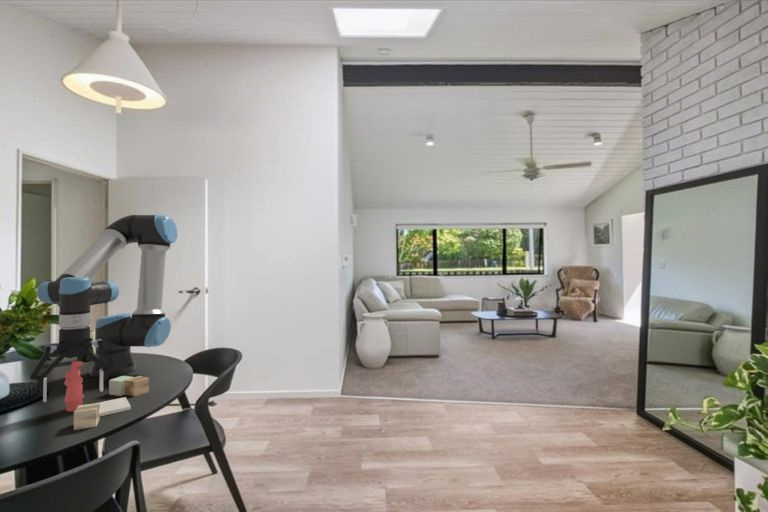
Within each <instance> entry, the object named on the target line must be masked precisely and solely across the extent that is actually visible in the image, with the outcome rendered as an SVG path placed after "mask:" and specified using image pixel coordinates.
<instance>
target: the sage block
mask: <svg viewBox="0 0 768 512" xmlns="http://www.w3.org/2000/svg"><path fill="white" fill-rule="evenodd" d="M130 378H134V376H129V375H119V376H116V377H115V378H111V379H110V380H109V381H108V394H109V395H110V396H111V395H112V396H119V397H121V396H125V395H126V394H125V380H127V379H130Z"/></svg>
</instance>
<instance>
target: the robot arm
mask: <svg viewBox="0 0 768 512" xmlns="http://www.w3.org/2000/svg"><path fill="white" fill-rule="evenodd" d="M177 239H178V228H177V224H176V222H175V220H174V219H173V218H171V217H170V216H168V215H161V214H130V215H126V216H123V217H120V218H119V219H117V220H115V221H113V222H112V223H110V224H109V225H108V226H106V227H105V228H104V229H103V230H102V231H101V232H100V237H99V238H98V239H97V240H95V242H94V243H93V244H92V245H91V246H90V247H89V248H87V249H86V251H84V252H83V253H82V254H81V255H80V256H79V257H77V259H76V260H75V261H74V262H73V263H72V264H71V265H69V267H68V268H67V269H66V270H64V271H63V272H62V274H60V275H59V276H58V277H57V278H56V279H55V280H48V281H44V282H41V283H40V284H39V285H38V287H37V288H36V289H37V290H36V295H37V298H38V300H39V302H40V301H41V303H44V304H53V305H57V304H58V305H59V313H58V327H59V328H60V329H59V330H58V344H57V345H51V344H47V345H45V347H44V352H43V354H42V356H41V357H40V358H39V360H38V362H37V364H36V365H35V367H34V368H33V370H32V372H31V373H30V374H29V380H36V381H37V391H39V392H41V391H42V393H43V394H42V397H43V398H42V402H43V403H46V402H48V401H47V399H48V396H47V386H48V385H47V384H48V378H47V376H48V375H49V374H50V373H51V372H52V371H53V370H54V368H56V367H57V366H58V365H59V363H61V362H62V361H63V360H64V359H65V358H66V359H72V358H73V359H74V358H77V357H81V356H83V355H84V354H85V355H86V356H87V357H89V358H90V359H91V360H90V361H92V363H91V366H90V368H89V376H90V377H91V378H98V380H99V381H98V383H99V384H98V385H99V388H98V389H99V391H100V392H104V381H105V380H108V378H111V377H112V378H113V377H120V376H124V375H126V374H130V373H132V372H134V371H135V370H136V362H135V359H134V356H133V353H132V352H131V347H133V348H134V347H146V348H151V347H159V346H161V345H163V344H164V343H165V342H166V340H168V338H169V336H170V332H171V327H172V325H171V320H170V318H168V317H166V312H165V310H163V309H162V306H163V305H162V304H163V295H164V294H163V293H164V292H163V291H164V278H165V266H166V252H168V250H170V249H171V244H173V243H175V242H176V240H177ZM135 243H137V247H138V248H139V249H140V251H141V256H140V266H139V280H138V292H137V304H136V309H135V310H134V311H133V312H132V313H130V312H126V313H118V314H112V315H106V316H102V317H98V318H97V319H96V321H95V328H94V330H95V341H92V342H91V341H90V330H91V327H90V326H89V325H91V306H95V305H101V304H107V303H112V302H113V301H115V300H116V299H117V298H118V297H119V294H120V290H119V286H118V285H117V284H116V282H114V281H111V280H100V281H91V280H92V278H93V277H94V276H96V274H97V273H98V272H99V271H100V270H101V269H102V268H103V266H104V265H105V264H106V263H107V262H108V261H109V260H110V259H111V258H112V257H113V256H114V255H115V254H116V253H117V252H118V251H119V250H121V249H124V248H125V247H126V246H127V245H129V244H135ZM92 345H93V346H94V347H95V351H94V355H93V354H92V353H91V352H90V351H89V350H88V349H89V348H90V347H91V346H92ZM93 346H92V347H93ZM56 350H57V351H58V352H59V354H58V355H57V356H56V357H55V359H53V360H52V362H50V364H48V366H47V367H46V368H45V369H43V370H42V372H41V373H39V372H40V371H41V369H42V367H43V366H44V365H45V363H46V362H47V359H48V358H49V356H50V354H52V353H54V351H56Z"/></svg>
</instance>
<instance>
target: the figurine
mask: <svg viewBox="0 0 768 512" xmlns="http://www.w3.org/2000/svg"><path fill="white" fill-rule="evenodd" d="M70 363H71V366H70V369H69V371H67V372H65V374H64V378H65V380H64V386H66V389H65V391H66V392H65V398H64V399H63V401H64V402H65V407H66V409H65V411H66V412H69V413H70V412H71V413H72V412H74V411H75V410H76V409H77V407H78V406H80V405H83V399H84V398H85V395H84V394H83V388H84V387H83V380H84V379H83V377H82V376H81V369H79V367H81V366H82V365H84V364H85V362H84V361H77V360H72V361H71V362H70Z"/></svg>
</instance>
